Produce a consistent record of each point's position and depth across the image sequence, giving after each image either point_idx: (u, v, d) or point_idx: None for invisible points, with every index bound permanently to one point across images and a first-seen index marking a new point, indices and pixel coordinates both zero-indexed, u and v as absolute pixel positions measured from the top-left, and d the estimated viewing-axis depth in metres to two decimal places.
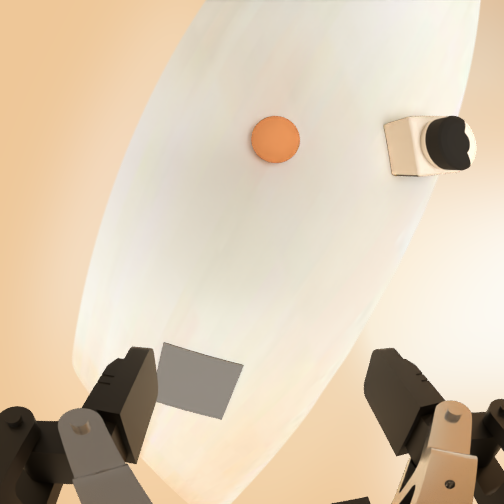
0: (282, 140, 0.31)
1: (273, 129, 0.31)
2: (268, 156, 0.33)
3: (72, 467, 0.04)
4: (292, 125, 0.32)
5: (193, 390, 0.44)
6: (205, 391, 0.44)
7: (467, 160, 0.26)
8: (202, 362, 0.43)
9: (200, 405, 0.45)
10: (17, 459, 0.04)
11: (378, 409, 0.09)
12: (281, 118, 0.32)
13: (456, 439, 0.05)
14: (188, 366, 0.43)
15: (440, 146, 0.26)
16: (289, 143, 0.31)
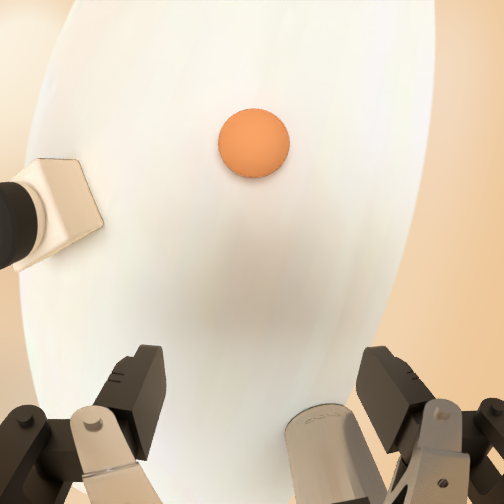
0: (248, 133, 0.20)
1: (265, 147, 0.21)
2: (261, 110, 0.21)
3: (83, 464, 0.04)
4: (236, 164, 0.22)
5: None
6: None
7: None
8: None
9: None
10: (26, 458, 0.04)
11: (369, 407, 0.09)
12: (254, 171, 0.22)
13: (446, 437, 0.05)
14: None
15: (9, 204, 0.15)
16: (236, 133, 0.20)
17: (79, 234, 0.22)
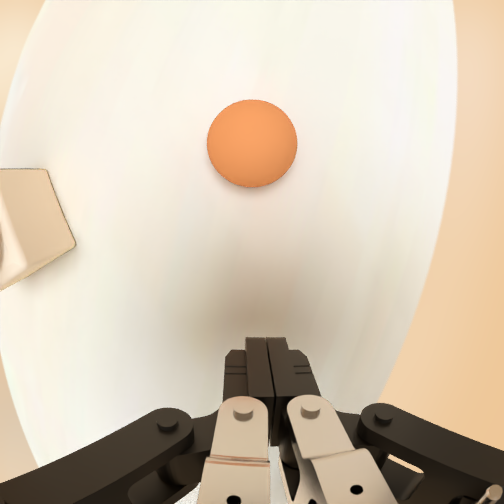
0: (244, 130, 0.15)
1: (266, 148, 0.16)
2: (260, 101, 0.16)
3: (213, 447, 0.06)
4: (229, 170, 0.17)
5: None
6: None
7: None
8: None
9: None
10: (149, 463, 0.05)
11: None
12: (253, 179, 0.17)
13: (328, 436, 0.06)
14: None
15: None
16: (228, 130, 0.16)
17: (42, 259, 0.17)
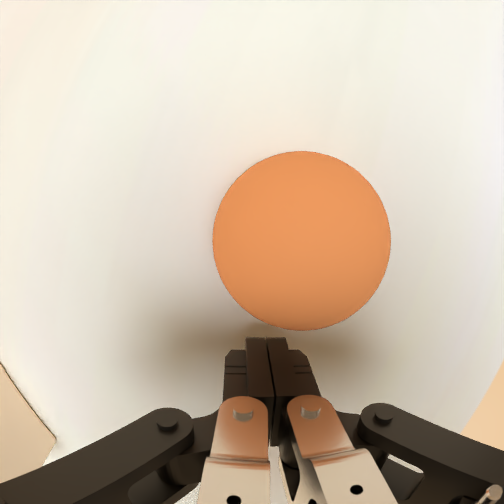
0: None
1: None
2: None
3: (213, 447, 0.06)
4: None
5: None
6: None
7: None
8: None
9: None
10: (149, 463, 0.05)
11: None
12: (323, 154, 0.09)
13: (328, 436, 0.06)
14: None
15: None
16: None
17: None
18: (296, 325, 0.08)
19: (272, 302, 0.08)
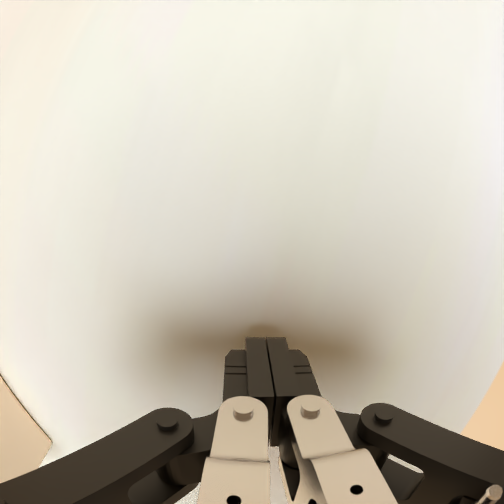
0: None
1: None
2: None
3: (213, 447, 0.06)
4: None
5: None
6: None
7: None
8: None
9: None
10: (149, 463, 0.05)
11: None
12: None
13: (329, 436, 0.06)
14: None
15: None
16: None
17: None
18: None
19: None
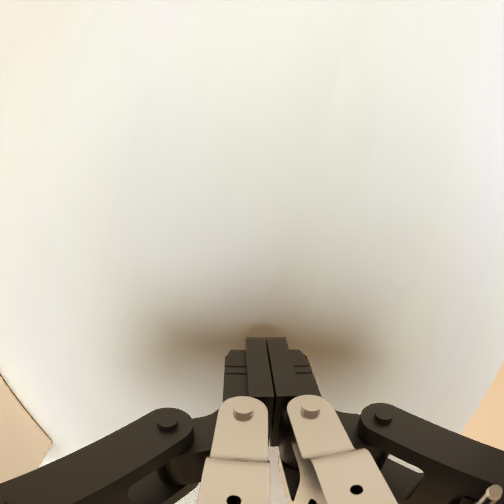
0: None
1: None
2: None
3: (213, 447, 0.06)
4: None
5: None
6: None
7: None
8: None
9: None
10: (149, 463, 0.05)
11: None
12: None
13: (329, 436, 0.06)
14: None
15: None
16: None
17: None
18: None
19: None
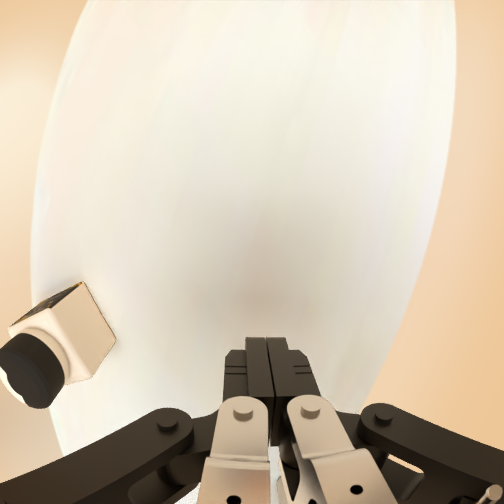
0: None
1: None
2: None
3: (213, 447, 0.06)
4: None
5: None
6: None
7: (1, 364, 0.16)
8: None
9: None
10: (149, 463, 0.05)
11: None
12: None
13: (328, 436, 0.06)
14: None
15: (38, 372, 0.17)
16: None
17: (99, 365, 0.24)
18: None
19: None
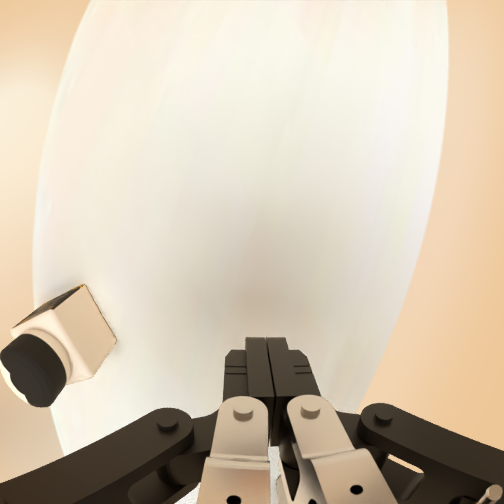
0: None
1: None
2: None
3: (213, 447, 0.06)
4: None
5: None
6: None
7: (4, 364, 0.17)
8: None
9: None
10: (149, 464, 0.05)
11: None
12: None
13: (328, 436, 0.06)
14: None
15: (41, 371, 0.18)
16: None
17: (100, 365, 0.25)
18: None
19: None
